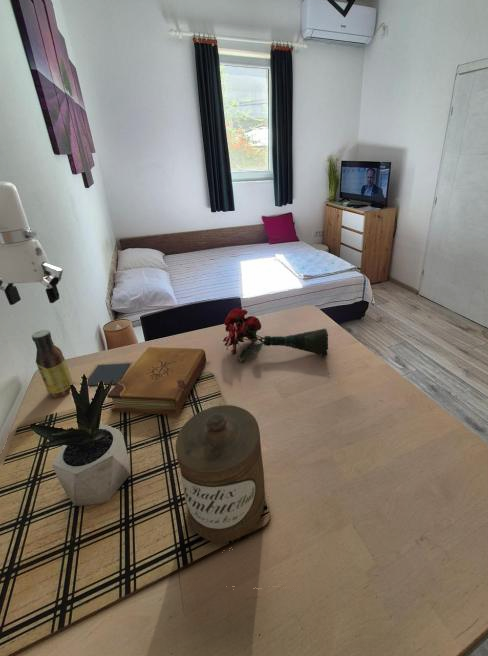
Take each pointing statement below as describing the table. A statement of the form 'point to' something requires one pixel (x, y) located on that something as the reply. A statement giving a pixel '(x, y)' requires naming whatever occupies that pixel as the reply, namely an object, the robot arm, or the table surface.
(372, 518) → the table surface
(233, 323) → the carnation
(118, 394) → the diary
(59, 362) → the sauce bottle
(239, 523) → the wooden container
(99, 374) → the mat
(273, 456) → the table surface
